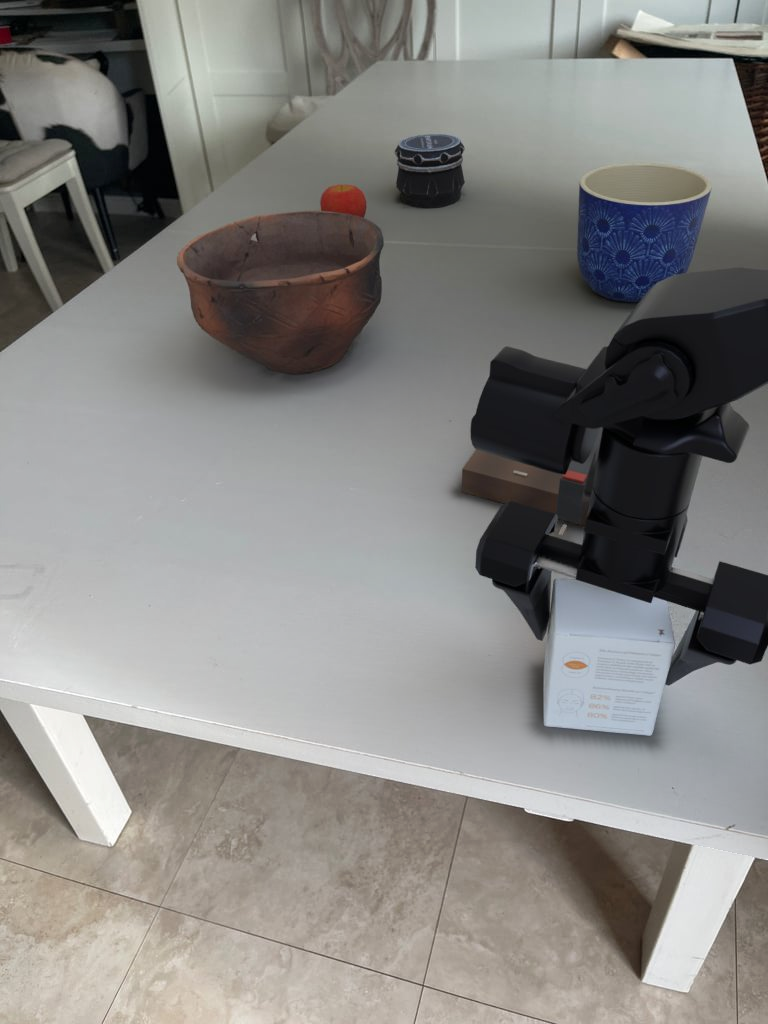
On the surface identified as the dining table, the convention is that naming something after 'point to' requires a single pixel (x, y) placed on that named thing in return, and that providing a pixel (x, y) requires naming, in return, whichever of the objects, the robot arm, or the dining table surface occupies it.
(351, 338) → the bowl
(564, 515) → the grey block with red
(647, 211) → the planter
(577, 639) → the small box
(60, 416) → the dining table surface
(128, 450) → the dining table surface
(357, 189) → the apple
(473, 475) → the base
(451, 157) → the container
